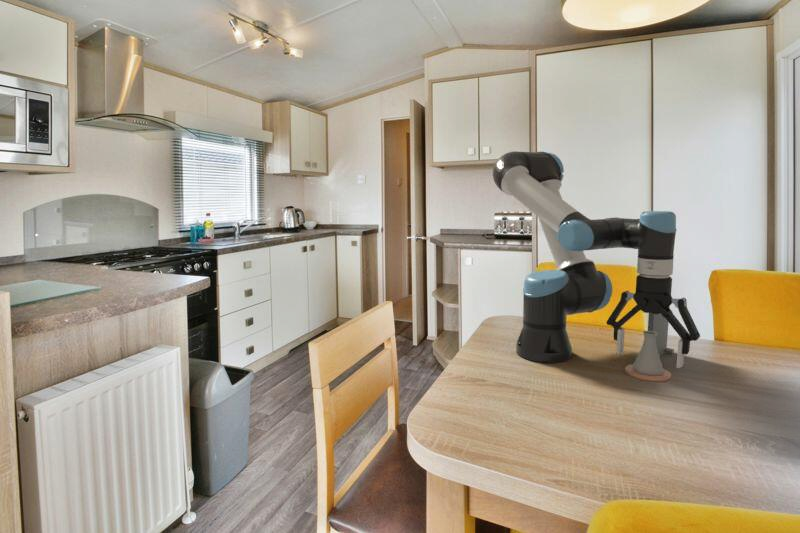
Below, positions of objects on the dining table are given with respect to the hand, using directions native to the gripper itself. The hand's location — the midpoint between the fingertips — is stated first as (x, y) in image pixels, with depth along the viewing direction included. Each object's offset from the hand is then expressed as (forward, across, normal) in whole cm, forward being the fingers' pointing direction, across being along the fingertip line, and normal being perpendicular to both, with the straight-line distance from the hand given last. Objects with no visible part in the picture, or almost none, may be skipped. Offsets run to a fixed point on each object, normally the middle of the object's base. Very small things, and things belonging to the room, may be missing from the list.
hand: (648, 359), depth 110 cm
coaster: (+4, 0, 0) cm, 4 cm away
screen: (+4, -2, +14) cm, 15 cm away
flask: (+3, 0, 0) cm, 3 cm away
